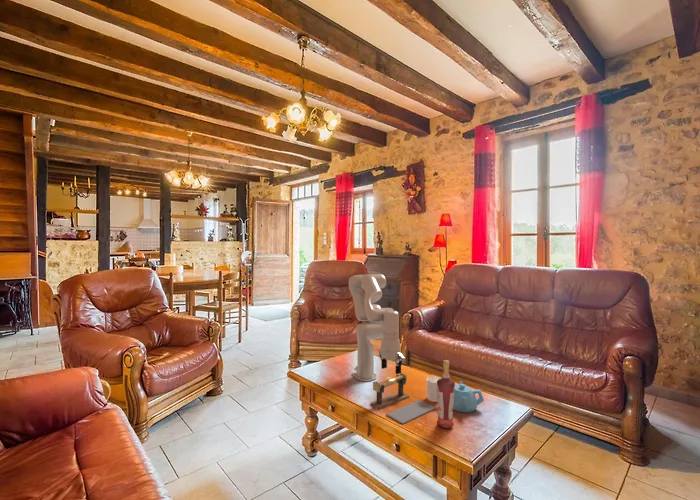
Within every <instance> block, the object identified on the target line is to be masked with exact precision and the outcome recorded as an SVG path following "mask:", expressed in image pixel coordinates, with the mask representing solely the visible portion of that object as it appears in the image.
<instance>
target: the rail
mask: <svg viewBox="0 0 700 500" xmlns="http://www.w3.org/2000/svg"><path fill="white" fill-rule="evenodd" d="M403 377H405V378H406V383H407V381H408V379H407V378H408V375H407V374H405V373H404V372H401V373H400V374H399V376H398V377H396V376H395V377H392V378H390V379H386V380H383V381H380V382H378V383H376V382H377V381H373V383H372V386H373V387H372V390H373V391H375V392H376V393H377V392H378V393H379V392H380V389H381V385H384V389H385V388H388V387H390V386H393V385H395V384H398V383H399V382H401V381H403Z"/></svg>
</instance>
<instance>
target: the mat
mask: <svg viewBox="0 0 700 500" xmlns="http://www.w3.org/2000/svg"><path fill="white" fill-rule="evenodd" d="M435 410H437V407H436V406H433V405H431V404H429V403H427V402H425V401H423V400H421V399H419V400H416V401H414V402H411V403H409V404H407V405H405V406H402V407H400V408H397V409H395V410H393V411H390V412H388V413H386V416H388V417H389V418H390V419H392V420H394V421H396V422H398V424H399V423H400V424H401V425H405V424H407V423H409V422H411V421H413V420H416V419H417V418H419V417H422V416H424V415H426V414H428V413H430V412H432V411H435Z"/></svg>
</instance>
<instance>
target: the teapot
mask: <svg viewBox="0 0 700 500" xmlns="http://www.w3.org/2000/svg"><path fill="white" fill-rule="evenodd" d="M476 394H478V395H477V396H478V398H477V397H476ZM484 400H485V399H484V395H483V394H482V389H472V388H471V387H469V386H468V385H466V384H465V383H463V381H459V383H458V384H456V385H455V388H454V403H453V411H456V412H459V413H467V414H468V413H472V412H474V411H475V410H476V409H477V408H478V405H480V404H482V403H483V402H484Z"/></svg>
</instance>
